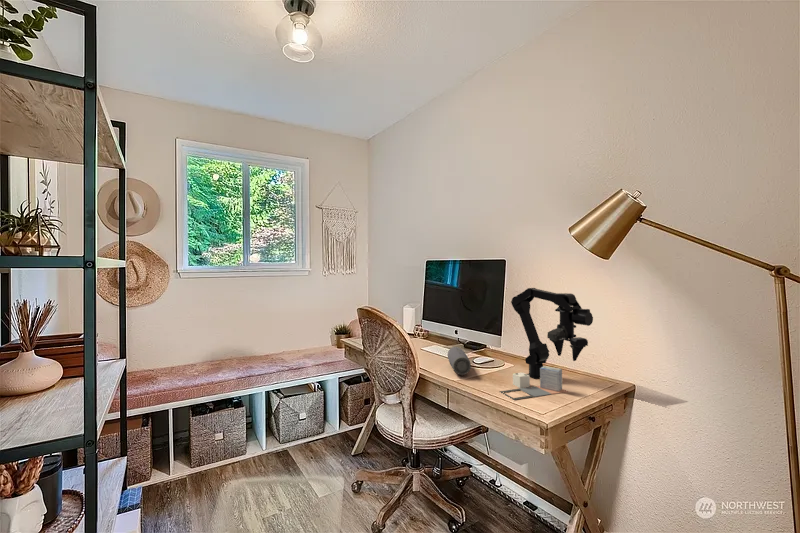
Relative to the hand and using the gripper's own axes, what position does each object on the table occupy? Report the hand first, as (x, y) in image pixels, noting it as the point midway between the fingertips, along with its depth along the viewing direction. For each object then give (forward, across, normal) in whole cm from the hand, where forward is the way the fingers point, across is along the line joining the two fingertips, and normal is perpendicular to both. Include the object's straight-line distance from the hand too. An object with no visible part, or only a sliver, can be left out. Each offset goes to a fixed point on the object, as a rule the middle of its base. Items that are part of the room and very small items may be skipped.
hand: (566, 358), depth 166 cm
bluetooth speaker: (+12, -36, -35) cm, 51 cm away
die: (+12, -6, -19) cm, 23 cm away
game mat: (+12, +2, -18) cm, 22 cm away
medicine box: (+12, +2, -10) cm, 15 cm away
